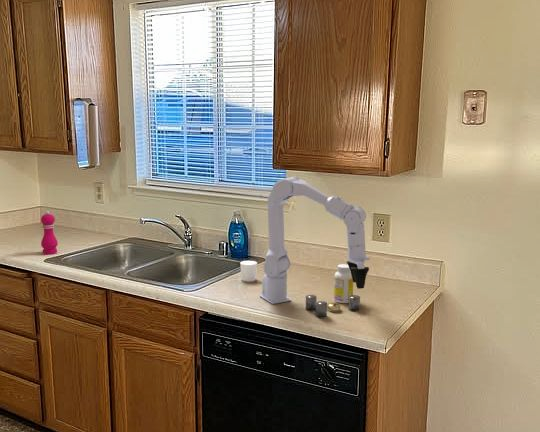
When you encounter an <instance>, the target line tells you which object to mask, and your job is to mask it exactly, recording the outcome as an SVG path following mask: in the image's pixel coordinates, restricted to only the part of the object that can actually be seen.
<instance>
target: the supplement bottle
mask: <svg viewBox="0 0 540 432" xmlns="http://www.w3.org/2000/svg"><path fill="white" fill-rule="evenodd" d="M336 268H337V271H336V272H335V273H334V276H333V277H334V284H333V285H334V287H333V300H334V301H335V303H338V304H349V296H351V295H354V282H353V280H352V275H351V271H350V268H349V266H348V264H347V263H346V264H345V263H343V264H341V263H340V264H338V265H337V267H336Z"/></svg>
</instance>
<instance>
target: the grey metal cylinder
mask: <svg viewBox="0 0 540 432" xmlns="http://www.w3.org/2000/svg"><path fill="white" fill-rule="evenodd" d="M360 306H361V296H360V295H356V294H353V295H351V296H349V303H348V310H349V311H351V312H359V311H360V309H361V307H360Z"/></svg>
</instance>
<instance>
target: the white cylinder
mask: <svg viewBox="0 0 540 432" xmlns="http://www.w3.org/2000/svg"><path fill="white" fill-rule="evenodd" d="M239 264H240V277H241V281H243V282H249V283H250V282H254V281H256V278H257V268H258V262H257V261H255V260H242V261H240V262H239Z"/></svg>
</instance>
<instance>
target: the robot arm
mask: <svg viewBox="0 0 540 432" xmlns="http://www.w3.org/2000/svg"><path fill="white" fill-rule="evenodd" d="M301 196H303V197H306V198H308V199H310V200H312V201H314V202H317V203H318V204H320V205H322V206H323V207H324V209H325V212H327V213H329V214H331V216H332V215H333V217H336V218H338V219H339V220H341V221H343V223H344V225H345V226H346V240H347V243H346V245H347V257H348V258H347V261H346V264H347V265H348V266H349V268H350V272H351V275H352V280H353V283H355V286H356V289H359V290H360V289H361V290H362V289H365V285H366V284H365V283H366V279H367V275H368V272H369V270H370V267H369V266H365V263H366V261H368V260H370V259H371V258H370V256H366V233H365V223H364V222H365V221H366V219H367V213H366V211H365V210H364V209H363V208H362V207H360V206H354V204H353V203H348V202H347V201H345V200H343V199H342V196H340V195H338V196H335V195H332V196H329V195H327V194H326V193H324V192H322V191H320V190H318V189H317V188H315V187H314V186H312V185H311V184H309V183H308V182H307V181H305V180H303V179H300V178H298V177H297V176H291V177H287V178H281V179H279V180H277V181H276V182H275V183H274V184H273V185H272V190H271V191H270V193H269V195H268V197H267V223H268V224H267V225H268V227H267V228H268V250H267V253H266V254H265V260H264V261H265V262H264V263H263V267H262V268H263V272H264V273H265V274H264V275H263V277H262V279H261V294H259V297H261V298H262V299H264V300H265V301H267V302H268V303H270V304H271V305H274V304H280V303H286V302H291V301H292V298H290V297H289V296H287V295H288V291H287V288H288V284H287V283H288V272H287V271H288V270H289V268H290V267H291V261H290V258H289V255H288V250H287V249H286V248H285V222H284V221H285V220H284V219H285V218H284V204H285V203H286V202H287V201H288V200H289V199H291V198H292V197H301Z"/></svg>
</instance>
